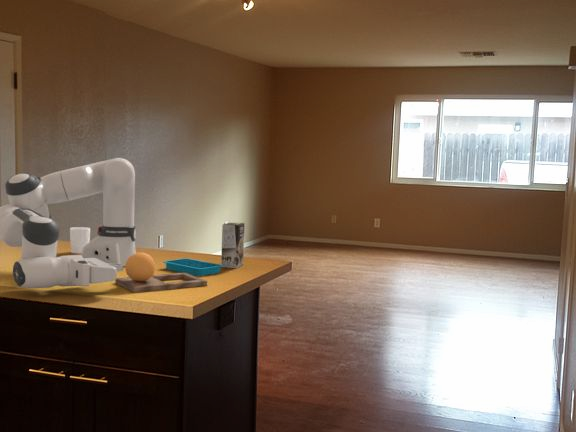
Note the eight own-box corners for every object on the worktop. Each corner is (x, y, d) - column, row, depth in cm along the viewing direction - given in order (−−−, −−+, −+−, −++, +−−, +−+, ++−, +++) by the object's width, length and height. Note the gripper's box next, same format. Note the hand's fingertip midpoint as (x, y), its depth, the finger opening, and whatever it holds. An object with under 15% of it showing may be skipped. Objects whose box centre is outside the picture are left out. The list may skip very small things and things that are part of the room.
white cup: (72, 251, 260) (72, 226, 259) (92, 251, 261) (92, 227, 260) (67, 253, 253) (67, 229, 252) (87, 254, 253) (87, 229, 252)
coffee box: (237, 268, 232) (238, 225, 230) (220, 267, 233) (221, 224, 232) (244, 264, 241) (245, 222, 239) (227, 263, 242) (228, 221, 241)
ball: (122, 284, 190) (122, 254, 190) (127, 278, 199) (128, 250, 199) (152, 284, 191) (153, 255, 190) (156, 278, 200) (157, 250, 199)
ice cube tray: (200, 277, 214) (200, 269, 214) (161, 269, 227) (161, 261, 226) (224, 273, 223) (224, 265, 223) (186, 266, 236) (186, 258, 235)
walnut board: (133, 292, 186) (134, 287, 186) (115, 282, 199) (115, 278, 199) (207, 285, 200) (207, 280, 199) (185, 276, 213) (185, 272, 213)
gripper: (64, 274, 192) (109, 271, 200) (85, 287, 175) (133, 283, 183) (65, 254, 191) (109, 252, 199) (85, 265, 174) (133, 262, 182)
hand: (121, 267), depth 191 cm, fingers closed
